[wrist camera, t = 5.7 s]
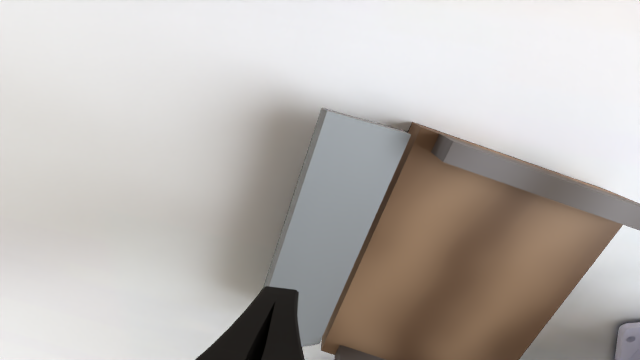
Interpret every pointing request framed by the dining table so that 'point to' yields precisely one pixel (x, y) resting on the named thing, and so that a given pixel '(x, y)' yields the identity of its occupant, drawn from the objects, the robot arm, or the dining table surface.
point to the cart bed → (469, 255)
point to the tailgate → (333, 213)
